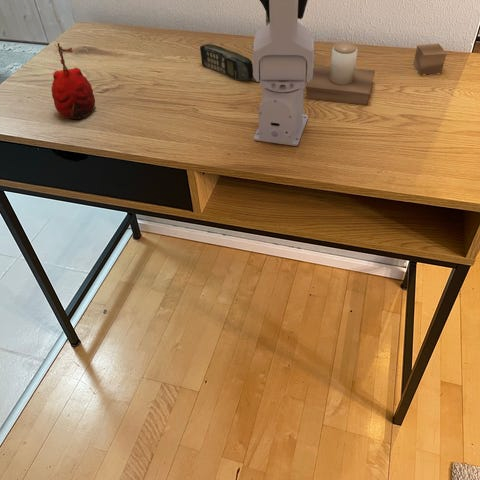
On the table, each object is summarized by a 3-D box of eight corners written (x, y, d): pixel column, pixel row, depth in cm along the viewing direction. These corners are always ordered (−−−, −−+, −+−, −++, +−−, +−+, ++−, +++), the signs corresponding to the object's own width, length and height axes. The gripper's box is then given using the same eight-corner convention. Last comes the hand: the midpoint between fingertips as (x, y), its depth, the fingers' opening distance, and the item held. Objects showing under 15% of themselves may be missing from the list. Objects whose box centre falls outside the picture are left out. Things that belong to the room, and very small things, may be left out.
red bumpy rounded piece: (94, 99, 102) (73, 25, 91) (100, 116, 97) (79, 40, 87) (56, 108, 100) (30, 33, 90) (61, 126, 96) (34, 50, 85)
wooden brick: (367, 105, 96) (369, 93, 94) (305, 98, 98) (305, 86, 97) (373, 82, 102) (375, 70, 100) (314, 76, 104) (314, 64, 103)
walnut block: (441, 74, 103) (446, 53, 100) (419, 75, 103) (424, 55, 99) (433, 64, 106) (438, 43, 103) (413, 65, 106) (417, 45, 102)
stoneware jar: (357, 81, 97) (362, 49, 92) (336, 86, 96) (340, 53, 91) (346, 71, 100) (350, 38, 95) (325, 75, 99) (328, 43, 94)
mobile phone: (197, 45, 106) (251, 63, 99) (206, 40, 108) (261, 57, 100) (199, 68, 110) (252, 87, 102) (209, 62, 111) (262, 81, 104)
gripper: (286, -37, 83) (284, 43, 93) (329, -61, 91) (323, 15, 101) (251, -43, 87) (253, 35, 96) (295, -66, 94) (293, 8, 104)
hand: (287, 24), depth 99 cm, fingers open, 7 cm apart
